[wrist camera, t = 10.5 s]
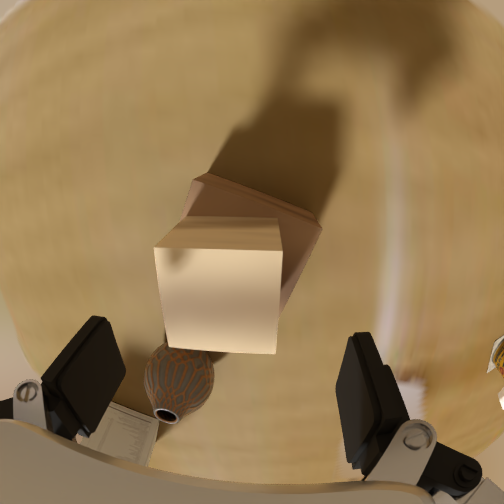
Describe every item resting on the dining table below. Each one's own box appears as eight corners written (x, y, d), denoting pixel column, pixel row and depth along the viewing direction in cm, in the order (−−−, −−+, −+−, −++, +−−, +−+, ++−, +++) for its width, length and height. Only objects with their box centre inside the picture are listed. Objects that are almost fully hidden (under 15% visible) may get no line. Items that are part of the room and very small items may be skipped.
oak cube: (186, 216, 19) (153, 247, 13) (277, 217, 18) (282, 251, 13) (191, 295, 21) (168, 347, 15) (273, 299, 20) (275, 354, 15)
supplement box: (104, 423, 37) (71, 498, 21) (101, 395, 34) (57, 483, 18) (156, 444, 38) (132, 525, 22) (161, 419, 34) (131, 516, 19)
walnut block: (208, 172, 22) (192, 179, 18) (311, 211, 23) (322, 228, 18) (178, 267, 25) (160, 293, 21) (270, 300, 26) (270, 333, 22)
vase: (231, 354, 29) (221, 421, 20) (195, 384, 31) (180, 443, 23) (177, 317, 27) (149, 379, 19) (146, 352, 29) (118, 409, 21)
